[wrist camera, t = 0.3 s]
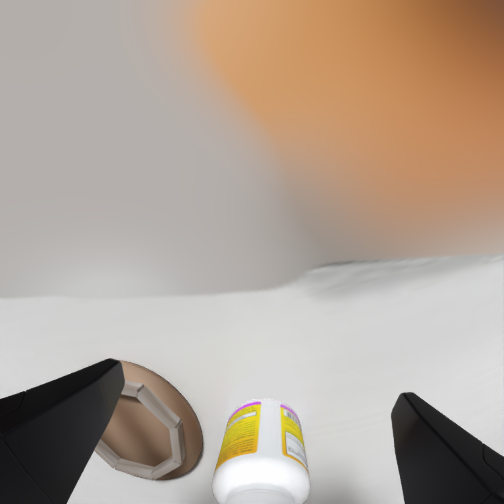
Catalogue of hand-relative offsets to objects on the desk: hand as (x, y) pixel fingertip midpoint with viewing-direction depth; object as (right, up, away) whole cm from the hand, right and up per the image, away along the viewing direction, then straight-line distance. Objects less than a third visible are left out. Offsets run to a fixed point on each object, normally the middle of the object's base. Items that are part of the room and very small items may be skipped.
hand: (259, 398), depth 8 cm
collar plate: (-12, -13, +17) cm, 25 cm away
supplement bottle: (+1, -12, +16) cm, 20 cm away
